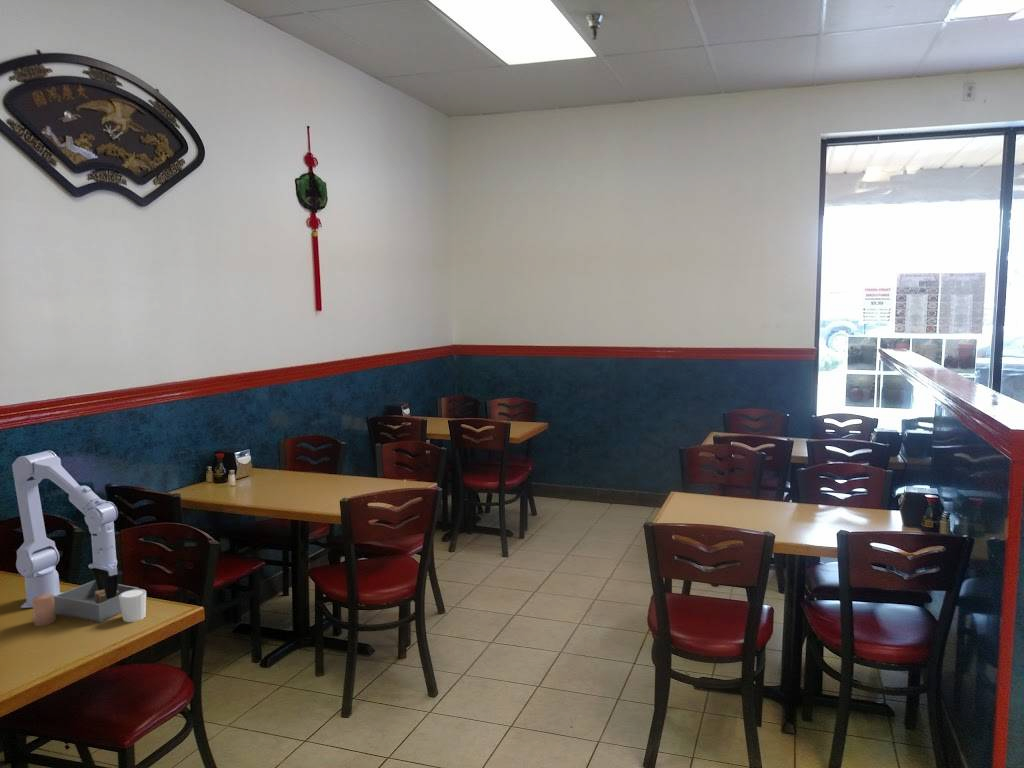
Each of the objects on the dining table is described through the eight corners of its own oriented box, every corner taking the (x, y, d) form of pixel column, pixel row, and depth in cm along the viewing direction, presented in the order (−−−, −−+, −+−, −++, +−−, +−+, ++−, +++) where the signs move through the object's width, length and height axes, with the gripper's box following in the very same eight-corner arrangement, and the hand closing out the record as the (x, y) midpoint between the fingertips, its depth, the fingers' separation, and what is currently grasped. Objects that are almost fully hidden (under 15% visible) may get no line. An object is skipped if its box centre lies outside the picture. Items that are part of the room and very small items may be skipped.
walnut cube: (95, 608, 215) (94, 591, 215) (115, 603, 219) (114, 586, 218) (101, 614, 212) (99, 596, 211) (120, 608, 215) (119, 591, 215)
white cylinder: (114, 620, 209) (112, 595, 208) (137, 611, 215) (135, 587, 214) (131, 624, 206) (129, 599, 205) (153, 615, 212) (151, 591, 211)
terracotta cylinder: (39, 619, 210) (37, 594, 210) (58, 617, 211) (56, 593, 210) (31, 626, 206) (28, 601, 205) (51, 625, 206) (49, 600, 206)
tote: (55, 613, 214) (53, 596, 213) (96, 596, 226) (95, 579, 225) (99, 622, 207) (98, 604, 207) (139, 604, 220) (138, 587, 219)
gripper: (80, 544, 216) (83, 590, 217) (95, 556, 205) (99, 605, 207) (107, 538, 220) (110, 583, 222) (124, 550, 210) (127, 597, 212)
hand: (107, 593), depth 215 cm, fingers open, 7 cm apart
